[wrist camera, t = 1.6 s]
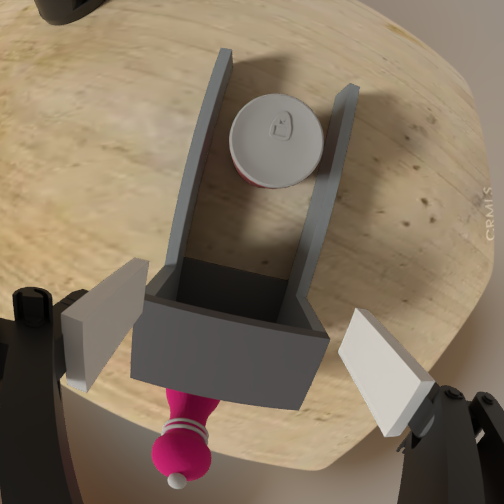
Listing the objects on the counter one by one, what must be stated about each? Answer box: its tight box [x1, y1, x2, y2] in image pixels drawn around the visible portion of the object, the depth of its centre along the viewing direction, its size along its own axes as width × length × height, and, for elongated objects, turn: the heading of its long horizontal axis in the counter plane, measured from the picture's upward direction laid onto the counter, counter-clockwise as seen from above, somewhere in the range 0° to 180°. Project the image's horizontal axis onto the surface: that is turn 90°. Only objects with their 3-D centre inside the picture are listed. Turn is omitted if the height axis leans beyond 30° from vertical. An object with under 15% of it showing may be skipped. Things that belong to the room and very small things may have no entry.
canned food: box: [229, 94, 324, 189], centre depth 27 cm, size 8×8×11 cm
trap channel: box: [130, 48, 360, 410], centre depth 26 cm, size 32×15×14 cm, turn 166°
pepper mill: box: [152, 388, 220, 489], centre depth 28 cm, size 7×7×20 cm
